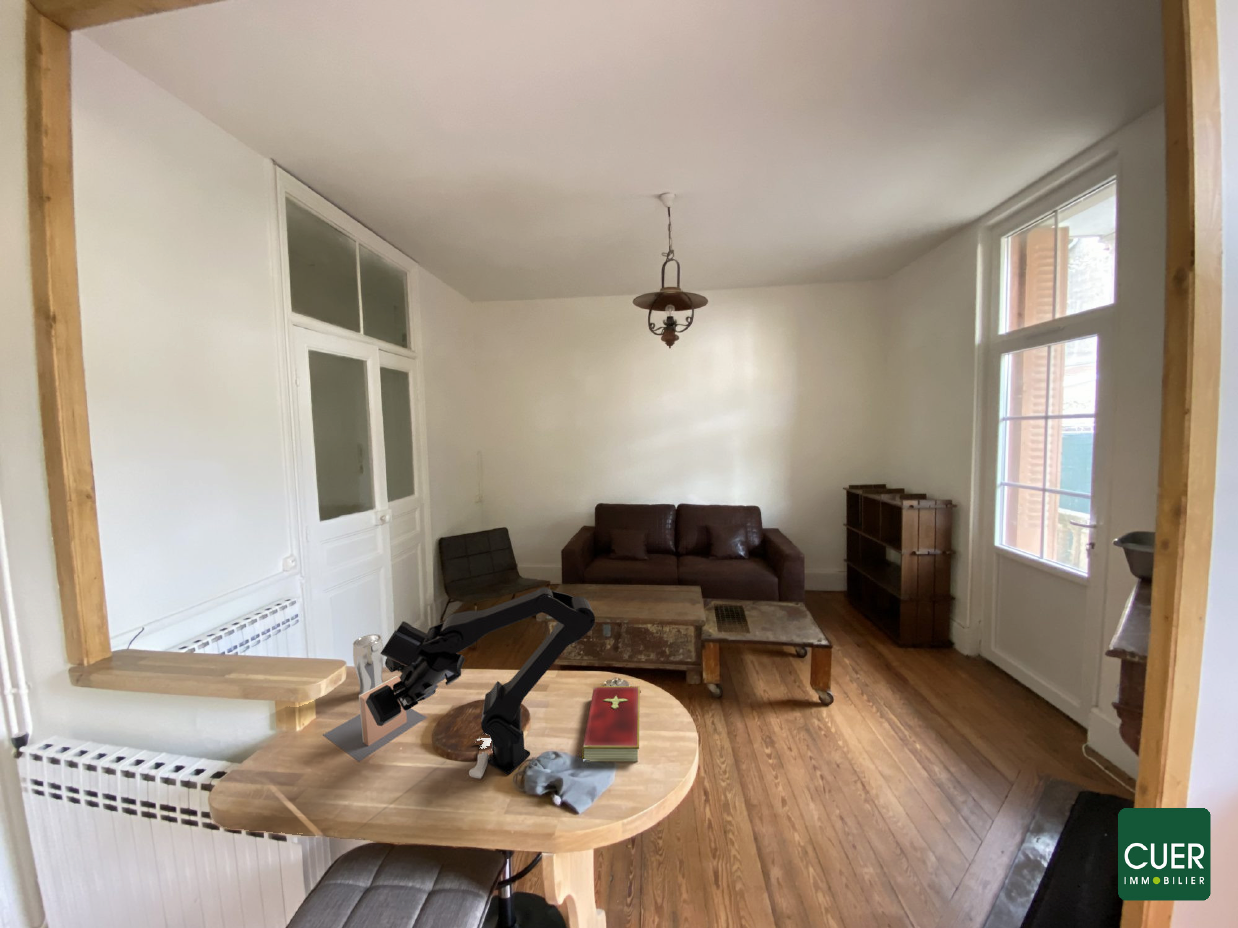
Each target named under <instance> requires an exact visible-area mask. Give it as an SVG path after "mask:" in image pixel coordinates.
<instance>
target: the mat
mask: <svg viewBox="0 0 1238 928" xmlns="http://www.w3.org/2000/svg"><path fill="white" fill-rule="evenodd" d="M406 717H407V722H406V723H404V724H403V725H401V726H400V727H398V728H396V729H395V730H393V731H392V732H390V733H389V734H387V735H385V736H384V737H382V738H381V739H379V740H377V741H376V742H374V743H373V744H371V745H369V746H368V745H367V744H365V743H364V742H363V736H362V726H361V715H360V713H358V715H355V716H354V717H352V718H351V719H349V720H347V721H345V722H344V723H341V724H340V725H338V726H335V728H332V729H331V730H328V731H327V732H325V733H324V734H322V736H324V737H325V738H326V739H327V740H329V741H330V742H332V743H333V744H334V745H336V746H337V747H338V748H340V749H341V750H342V751H344V752H345V753H347V754H348V755H349V756H351V757H352V758H353V759H355V760H356V761H358V762H361V761H362V760H364V759H365V758H367V757H369V756H370V755H372V754H373V753H375V752H376V751H378V750H380V749H381V748H382V747H384V746H385V745H387V744H389V743H390V742H392V741H394V740H395V739H396V738H398V737H399V736H401V735H403V734H404V733H406V732H407V731H408V730H410V729H411V728H413V727H415V726H416V725H418V724H420V723H421V722H423V721H424V720H427V718H428V716H426V715H425V714H422V713H420V712H418V711H416V710H414V709H413V708H410V709H409V710H406Z"/></svg>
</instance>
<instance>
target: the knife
mask: <svg viewBox="0 0 1238 928" xmlns="http://www.w3.org/2000/svg"><path fill="white" fill-rule="evenodd" d="M476 740H477V741H480V740H482V741H484V742H483V744H482V745H480V747H479V749H480V748H481V749H483V748H484V749H485V748H487V747H486V746H490V743H491V741H492V740H491V738H481V739H480V738H478V739H476ZM481 746H482V747H481ZM489 758H490V756H489V755H488V753H484V752H482V754H479V755H478V754H477V764H476V765H475V766H474V767H473V768H471V769H469V771H468V774H469V776H470V777H471V778H474V779H482V778H483V775H484V773H485V772H486V771H485V770H486V769H487V765H488V759H489Z"/></svg>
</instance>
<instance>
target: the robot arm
mask: <svg viewBox="0 0 1238 928" xmlns="http://www.w3.org/2000/svg"><path fill="white" fill-rule="evenodd" d="M542 613H543V614H545V615H548V616H549V617H550V618H552V619H554V620H555V621H556V623H555V626H554V628H553V629H552V631H551V632H550V633H549V634H548V635H547V637H545V639H544V640H543V641H542V642H541V643H540V645H539V646H538V647H537V649H535V651H534V652H533V653H532V654H531V656H530V657H529V658H528V659H527V660H526V661H525V663H524V664H523V665H522V666H521V668H520V669H519V670H518V671H517V672H516V673H515V674H514V676H513V677H512V678H511V679H510V680H509V681H508V682H505V683H504V684H502V683H501V682H500V681H498V680H497V681H496V682H495V684H494V685H493V687H492V688H491V689H490V691H488V692H487V693H485V694H484V702H483V708H482V714H481V721H480V726H481V727H480V729H481V730H482V732H483V734H484V733H485V734H486V735H489V736H490V738H491V740H492V749H491V752H492V751H493V753H492V756H489V759H488V762H487V765H490V766H492V767H493V768H495V769H497V770H498V771H501V772H503V773H504V774H506V775H510V774H512V773H513V772H514V771H515V770H516V769H517V768H518V767H519V766H520V765H521V764H522V763H523V762H524V761H526V759H528V758H529V757H530V755H531V751H530V750H528V749H526V748H525V737H524V735H525V734H524V730H522V707H521V705H522V703H523V701H524V699H525V698H526V697H527V695H528V694H529V693H530V692H531V690H532V689H533V688H534V687H535V686H536V685H537V683H538V682H539V681H540V680H541V678H542V677H543V676H544V675H545V674H546V673H547V671H549V669H550V668H551V667H552V666H553V664H554V663H555V662H556V661H557V660H558V659H559V658H560V656H561V655H562V654H563V653H564V652H565V650H566V649H567V648H568V647H569V646H570V645H574V644H575V643H577V642H580V641H581V640H582V639H583V638H584V637H585V636H586V635H587V634H589V633H590V632H591V631H592V630H593V628H594V627H595V625H596V624H595V623H596V616H595V614H594V611H593V608H592V606H591V603H590V601H589V600H587V599H586V598H585V597H583V596H573V595H571V594H567V593H564V592H560V591H555V590H552V589H550V588H549V587H544V586H543V587H540V588H538V589H537V590H534V591H532V592H528V593H527V594H524V595H521V596H519V597H517V598H513V599H511V600H509V601H505V602H502V603H500V604H497V605H495V606H491V607H489V608H487V609H482V610H467V611H462V612H456V613H452V614H451V615H448V617H447V618H446V619H445V620H444V621H443V622H440V623H437V624H435V625H433V626H431V627H429V628H428V630H427V632H424V631H422V630H420V629H419V628H417V627H414V626H412V625H411V624H410V623H408V622H407V621H404V620H402V622H401V623H400V625H399V626H398V627H397V628H396V629H395V630H394V631H393V633H392V634H391V636H390V637H389V639H388V640H387V642H386V644H385V646H383V650H382V651H381V653H380V654H381V655H383V656H384V657H386V658H385V661H384V665H385V668H387V670H388V671H389V672H390V673H394V672H399V673H401V674H400V677H399V678H400V679H401V681H399V682H397V683H396V684H394V685H393V690H392V688H391V687H390V686H388V685H385V686H384V687H382V688H380V689H378V690H376V691H374V692H373V693H371V694H370V695H369V696H368V698H367V700H366V704H367V706H368V708H369V710H370V712H371V714H372V716H373V718H374V720H375V722H376V724H377V725H378V726H383V725H384V724H386V723H388V722H389V721H391V720H392V719H394V718H395V717H397V716H398V715H399V714H400V713H401V706H402V708H403V710H405V711H406V710H409V709H410V708H411V709H413V707H416V706H417V705H418V704H419V702H421V701H424V700H426V699H428V698H430V697H431V696H433V695H434V694H436V691H437V690H436V689H437V688H438V687H439V685H438V684H440V683H441V682H443V681H444V680H446V681H445V683H444V684H445V686H449V685H451V684H452V683H454V682H455V681H456V680H459V678H461V676H462V667H463V665H464V662H465V660H466V658H465V656H464V655H463V654H461V653H460V652H462V651H464V650H465V649H467V648H469V647H471V646H472V645H474V644H476V643H477V642H478V641H479V640H481V639H482V638H483V637H485V636H486V635H487V634H489V633H491V632H494V631H497V630H500V629H502V628H505V627H508V626H510V625H512V624H515V623H519V622H521V621H523V620H526V619H529V618H531V617H533V616H536V615H539V614H542ZM394 693H395V694H394ZM399 702H400V703H399ZM400 704H401V705H400Z"/></svg>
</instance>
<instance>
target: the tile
mask: <svg viewBox="0 0 1238 928" xmlns="http://www.w3.org/2000/svg"><path fill="white" fill-rule="evenodd" d="M400 676H401V675H400ZM400 676H399V675H396V676H394V677H392V678H390V679H389V680H386V681H383V683H382V684H380V685H378V686H377V687H375V688H373V689H371V690H369V691H367V692H365V693H363V694H361V695H359V694H358V702H359V711H360V712H359V714H360V715H361V726H362V736H363V742H364V743H365V744H367V745H368V746H369V745H371V744H373V743H374V742H376V741H377V740H379V739H381V738H382V737H384V736H385V735H387V734H389V733H390V732H392V731H393V730H395V729H396V728H398V727H400V726H401V725H403V724H404V723H406V722H407V717H406V711H405V710H403V708H402V706H401V713H400V714H399V715H398V716H397V717H395V718H394V719H392V720H391V721H389V722H388V723H386V724H384V725H383V726H378V725H377V724H376V722H375V720H374V718H373V716H372V714H371V712H370V710H369V708H368V706H367V704H366V700H367V698H368V696H369V695H370V694H371V693H373V692H374V691H376V690H378V689H380V688H382V687H384V686H385V685H388V686H390V687H391V688H392V690H393V685H394V684H396V683H397V682H399V681H401V679H400V678H399V677H400ZM394 694H395V693H394ZM399 703H400V702H399ZM400 705H401V704H400Z"/></svg>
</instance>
